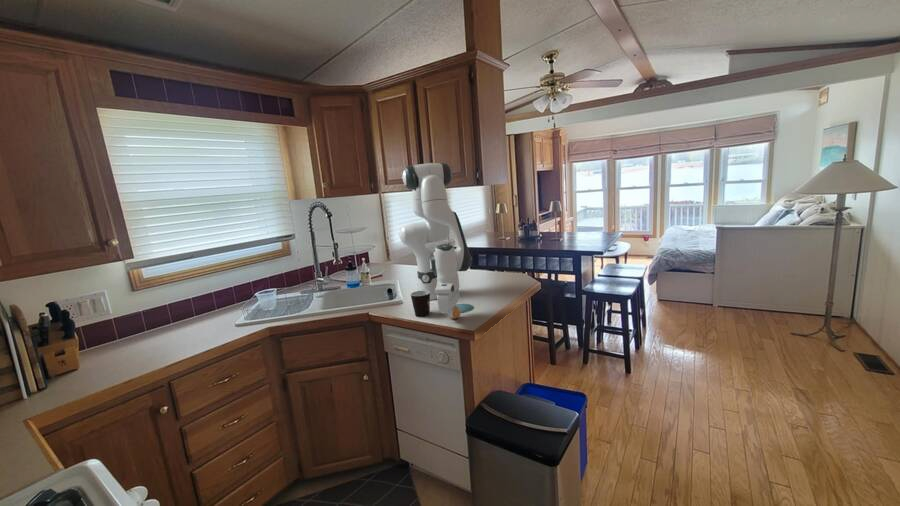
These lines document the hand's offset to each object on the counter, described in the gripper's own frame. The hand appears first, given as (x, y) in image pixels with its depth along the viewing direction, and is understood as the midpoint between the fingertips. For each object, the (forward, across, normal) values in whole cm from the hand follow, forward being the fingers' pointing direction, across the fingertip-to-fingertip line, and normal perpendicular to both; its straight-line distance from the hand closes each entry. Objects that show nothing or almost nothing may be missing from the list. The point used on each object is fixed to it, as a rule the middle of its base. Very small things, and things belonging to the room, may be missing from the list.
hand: (451, 316), depth 151 cm
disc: (+2, -17, 0) cm, 17 cm away
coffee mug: (+2, -10, -15) cm, 18 cm away
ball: (-1, -4, 0) cm, 4 cm away
